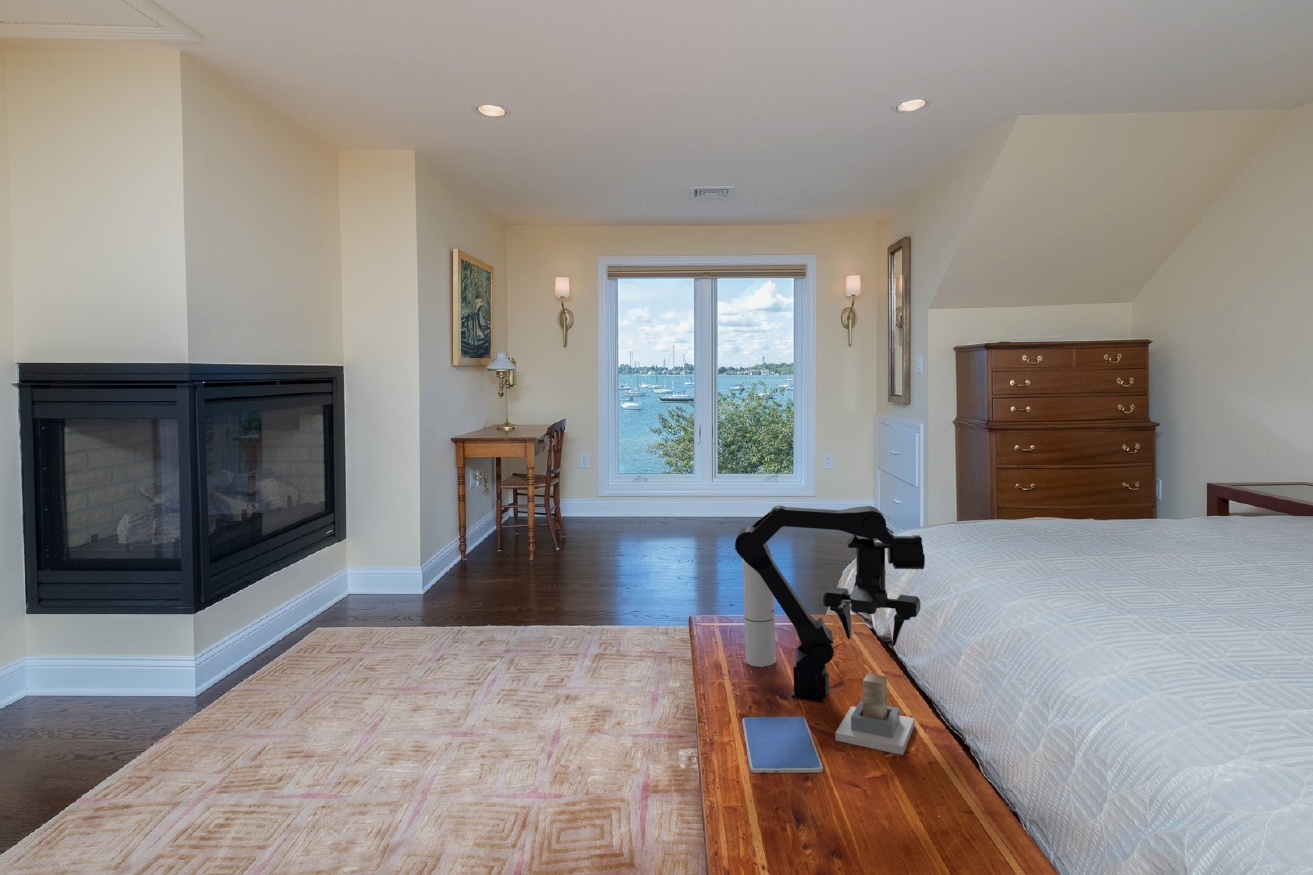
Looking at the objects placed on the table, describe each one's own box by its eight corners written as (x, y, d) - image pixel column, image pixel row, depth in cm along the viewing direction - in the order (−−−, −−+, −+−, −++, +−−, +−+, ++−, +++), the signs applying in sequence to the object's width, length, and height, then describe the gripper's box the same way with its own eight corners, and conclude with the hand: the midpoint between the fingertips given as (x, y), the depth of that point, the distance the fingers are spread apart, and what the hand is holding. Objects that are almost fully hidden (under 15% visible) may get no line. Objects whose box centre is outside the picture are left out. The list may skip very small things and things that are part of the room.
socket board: (835, 740, 132) (835, 719, 132) (851, 713, 143) (851, 693, 143) (902, 754, 127) (902, 733, 126) (914, 725, 137) (914, 705, 137)
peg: (863, 726, 134) (862, 680, 133) (867, 718, 137) (867, 673, 137) (882, 730, 132) (882, 683, 132) (887, 722, 135) (886, 676, 135)
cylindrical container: (780, 658, 172) (777, 556, 170) (769, 668, 166) (766, 563, 164) (752, 653, 176) (749, 553, 174) (741, 663, 170) (737, 560, 168)
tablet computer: (824, 775, 122) (824, 767, 122) (750, 775, 122) (750, 768, 122) (805, 721, 141) (805, 715, 141) (741, 722, 142) (741, 716, 142)
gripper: (815, 573, 145) (816, 647, 146) (911, 583, 136) (911, 662, 137) (830, 560, 155) (831, 630, 156) (920, 569, 146) (921, 643, 147)
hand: (871, 641), depth 149 cm, fingers open, 9 cm apart
